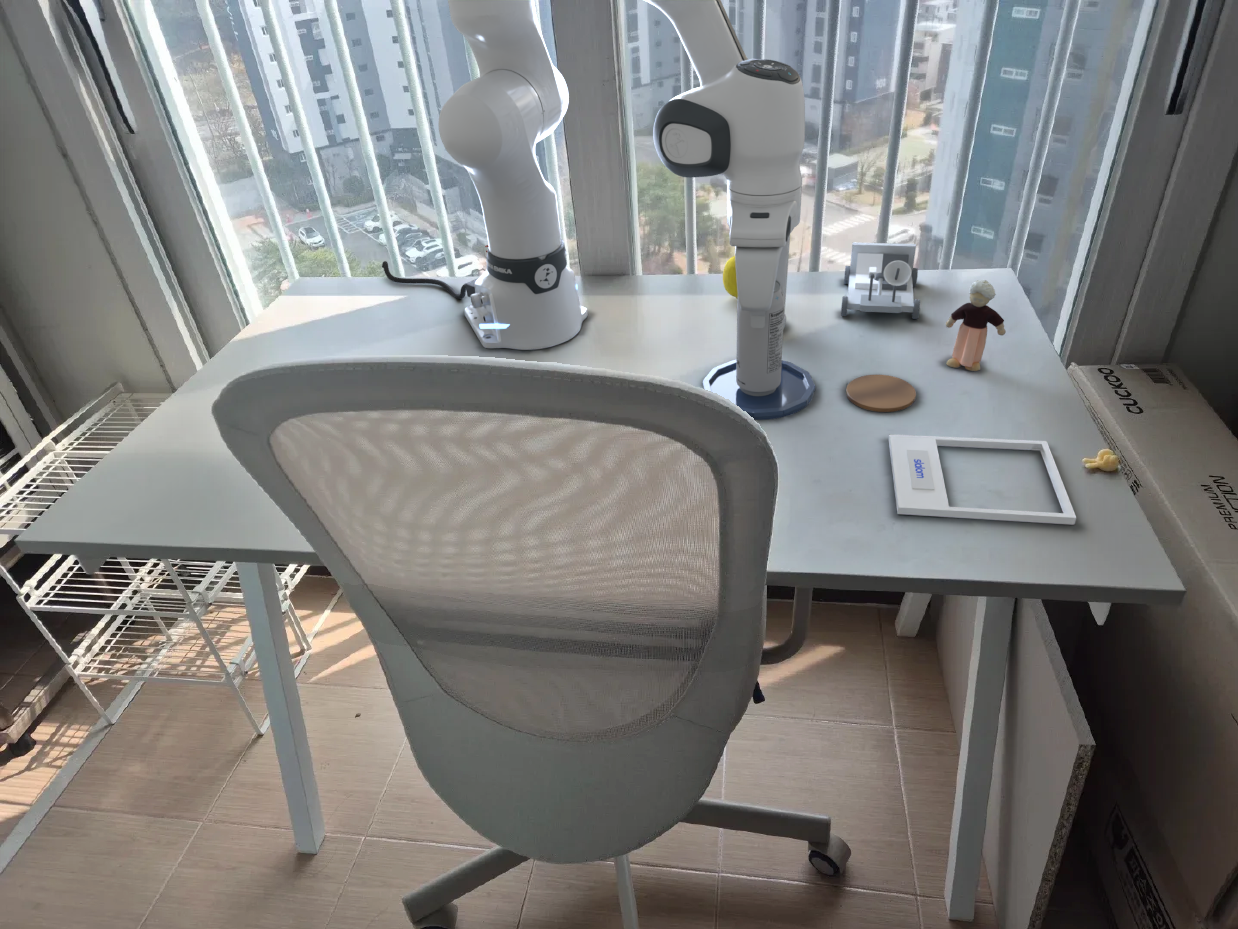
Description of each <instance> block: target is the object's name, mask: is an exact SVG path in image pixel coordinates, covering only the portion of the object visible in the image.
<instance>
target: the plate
mask: <svg viewBox="0 0 1238 929" xmlns="http://www.w3.org/2000/svg"><path fill="white" fill-rule="evenodd" d="M701 382H702V383H701V384H702V389H703V388H704V389H705V390H708V391H711V392H713V393H717V394H718V395H720V396H722V397H724V398H725V399H729V400H730V401H731V402H732V403H734V404H735V405H737V406H739V407H740V408H741V409H742V410H743V411H746V412H747V413H748V414H749V415H750V416H751V417H753V418H754V420H753V421H767V420H776V419H781V418H786V417H790V416H792V415H794V414H797V413H798V412H800V411H802V410H803V409H805V408H806V407H808V406H809V404H810V403H811V402H812V400H813V398H814V393H815V392H816V385H815V382H814V380H813V378H812V376H811V373H810V372H809V371H807V370H805V369H804V368H802V367H800V366H798V365H797V364H794V363H793V362H792V361H788V360H783V359H782V365H781V382H780V385H779V386H778V387H777V388H776V390H775V391H774V392H773V393H771V394H769V395H765V396H752V395H748V394H746V393H744V392H743V391H742V390H741V389H740V387H739V386H738V385H737V383H736V359H731V360H729V361H727V362H725V363H722V364H719V365H717V366H714V367H712V369H711V370H710V371H709V372H708V373H707V375H706V376H705V377H704V379H702V381H701Z"/></svg>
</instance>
